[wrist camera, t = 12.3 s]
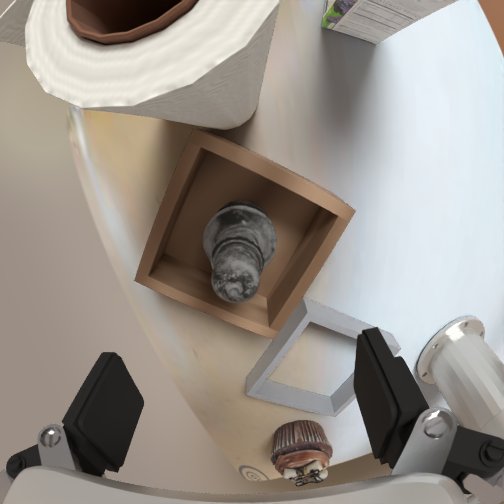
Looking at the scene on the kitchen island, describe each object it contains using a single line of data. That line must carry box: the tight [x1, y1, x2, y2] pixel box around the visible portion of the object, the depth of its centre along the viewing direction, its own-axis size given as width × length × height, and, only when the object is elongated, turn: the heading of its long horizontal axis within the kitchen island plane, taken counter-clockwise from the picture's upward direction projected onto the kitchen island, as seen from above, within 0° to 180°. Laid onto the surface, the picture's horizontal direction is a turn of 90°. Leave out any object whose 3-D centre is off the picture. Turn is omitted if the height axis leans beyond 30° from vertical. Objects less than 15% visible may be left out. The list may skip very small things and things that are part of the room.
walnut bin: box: [134, 129, 356, 340], centre depth 25 cm, size 13×13×6 cm
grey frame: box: [246, 297, 401, 417], centre depth 32 cm, size 14×14×3 cm
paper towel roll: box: [0, 0, 280, 130], centre depth 13 cm, size 7×6×21 cm
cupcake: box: [270, 420, 333, 486], centre depth 36 cm, size 10×10×10 cm
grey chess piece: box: [203, 200, 277, 303], centre depth 21 cm, size 6×6×12 cm
